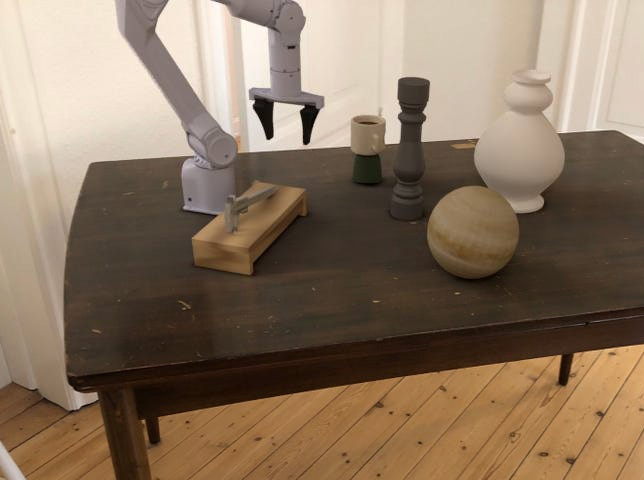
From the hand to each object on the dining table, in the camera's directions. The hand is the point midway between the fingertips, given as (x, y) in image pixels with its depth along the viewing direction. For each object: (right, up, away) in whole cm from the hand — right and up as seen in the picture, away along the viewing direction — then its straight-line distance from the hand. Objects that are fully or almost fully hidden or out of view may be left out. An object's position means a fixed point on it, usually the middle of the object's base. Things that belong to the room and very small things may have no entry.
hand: (288, 141), depth 145 cm
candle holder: (+23, -14, 0) cm, 27 cm away
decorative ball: (+33, -28, -19) cm, 48 cm away
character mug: (+15, -5, +12) cm, 20 cm away
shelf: (-4, -21, -12) cm, 24 cm away
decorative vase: (+45, -10, +8) cm, 47 cm away
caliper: (-4, -17, -15) cm, 23 cm away
